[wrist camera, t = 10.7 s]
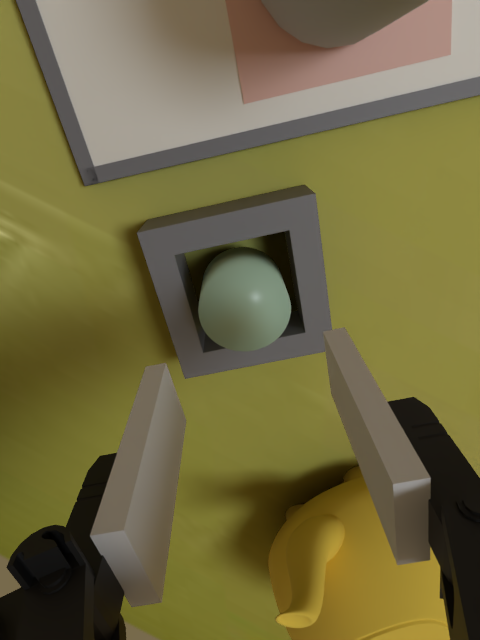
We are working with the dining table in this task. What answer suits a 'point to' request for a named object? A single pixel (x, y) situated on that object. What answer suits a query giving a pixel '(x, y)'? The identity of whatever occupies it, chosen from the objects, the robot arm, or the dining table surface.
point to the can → (337, 18)
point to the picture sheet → (231, 76)
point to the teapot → (350, 574)
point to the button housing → (226, 227)
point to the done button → (243, 300)
